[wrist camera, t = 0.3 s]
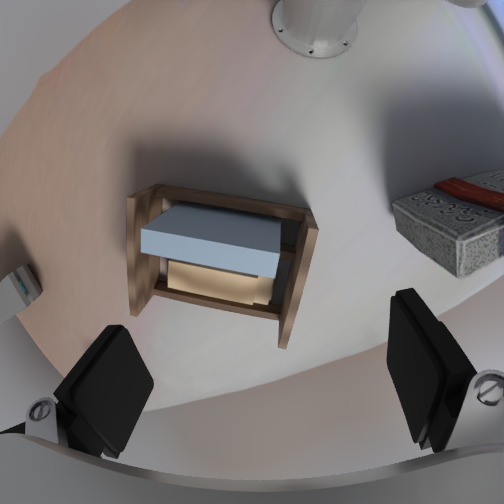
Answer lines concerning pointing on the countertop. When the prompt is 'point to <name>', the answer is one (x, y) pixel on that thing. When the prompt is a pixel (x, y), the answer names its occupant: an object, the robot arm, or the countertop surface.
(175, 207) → the painted sheet
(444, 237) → the decorative stone tablet
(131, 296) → the walnut rack
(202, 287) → the offcut stack
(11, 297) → the sharpening stone
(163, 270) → the countertop surface
